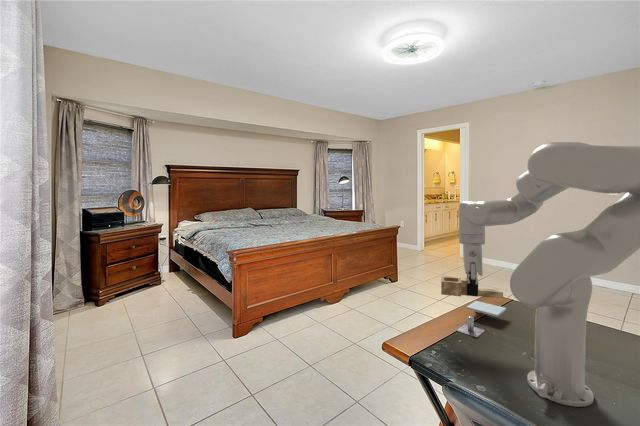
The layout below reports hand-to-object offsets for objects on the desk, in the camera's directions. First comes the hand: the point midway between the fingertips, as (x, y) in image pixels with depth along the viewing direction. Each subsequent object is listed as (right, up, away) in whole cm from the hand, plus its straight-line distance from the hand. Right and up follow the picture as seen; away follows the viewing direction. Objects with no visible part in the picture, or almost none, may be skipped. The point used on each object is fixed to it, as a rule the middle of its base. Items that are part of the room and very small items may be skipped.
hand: (471, 293), depth 98 cm
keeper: (+14, -14, +16) cm, 25 cm away
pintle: (+3, -15, +6) cm, 16 cm away
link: (0, 0, 0) cm, 1 cm away
